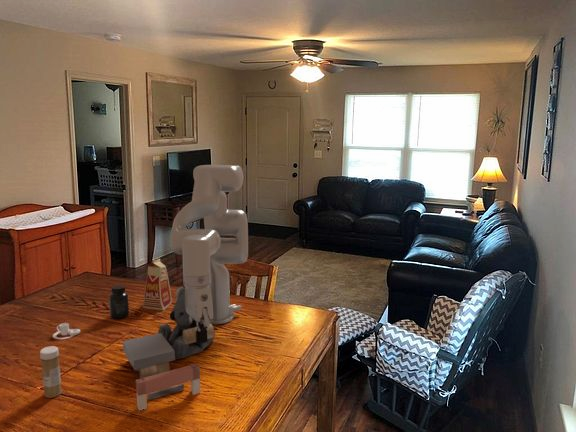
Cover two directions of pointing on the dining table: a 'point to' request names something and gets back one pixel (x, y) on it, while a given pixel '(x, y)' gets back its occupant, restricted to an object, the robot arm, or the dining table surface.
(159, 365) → the track
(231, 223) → the robot arm
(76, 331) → the white looped ring piece
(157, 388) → the pink u-shaped frame
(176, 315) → the koala plush
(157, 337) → the slab
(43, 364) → the sprinkles bottle
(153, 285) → the milk carton
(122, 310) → the supplement bottle
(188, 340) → the roller
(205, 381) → the dining table surface
